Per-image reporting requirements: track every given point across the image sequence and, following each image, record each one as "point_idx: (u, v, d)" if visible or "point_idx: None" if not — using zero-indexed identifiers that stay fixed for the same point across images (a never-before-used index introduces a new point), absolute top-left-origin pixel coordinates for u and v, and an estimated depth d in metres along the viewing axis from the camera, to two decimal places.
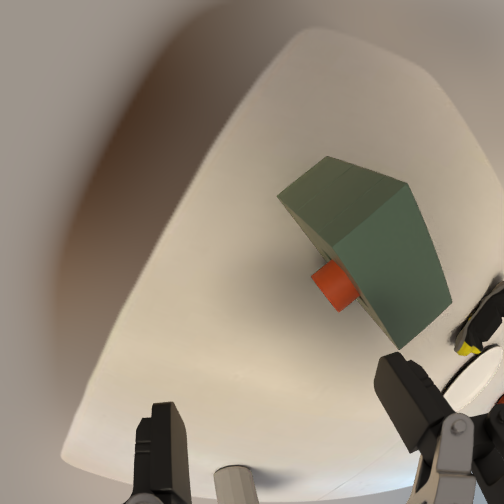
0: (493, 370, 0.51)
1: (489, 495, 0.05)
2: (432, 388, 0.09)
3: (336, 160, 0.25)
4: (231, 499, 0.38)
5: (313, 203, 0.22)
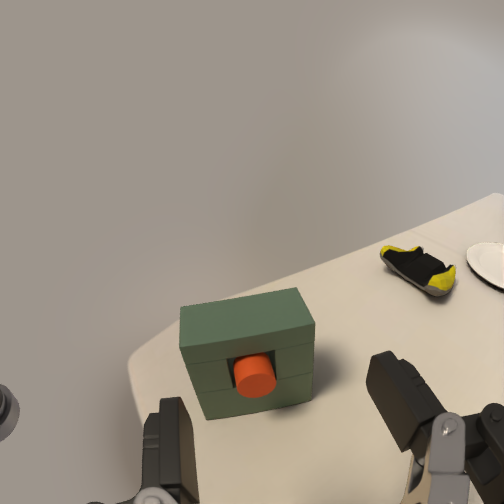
0: (497, 247, 0.53)
1: (484, 494, 0.05)
2: (424, 387, 0.09)
3: None
4: None
5: None
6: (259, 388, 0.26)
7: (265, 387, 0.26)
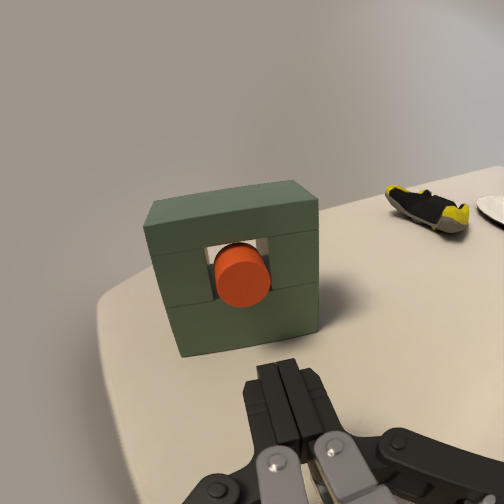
0: None
1: (427, 503, 0.06)
2: (323, 400, 0.09)
3: None
4: None
5: None
6: (247, 289, 0.21)
7: (255, 288, 0.21)
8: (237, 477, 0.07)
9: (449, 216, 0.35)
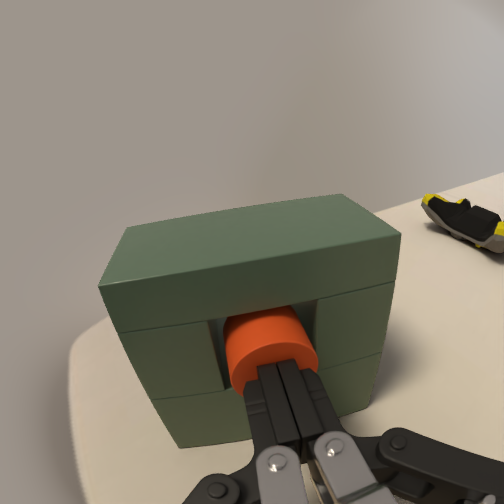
0: None
1: None
2: (323, 400, 0.09)
3: None
4: None
5: None
6: None
7: None
8: (237, 477, 0.07)
9: (502, 234, 0.26)
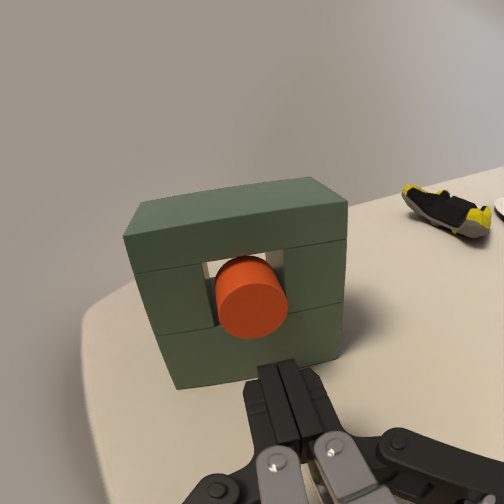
0: None
1: None
2: (323, 400, 0.09)
3: None
4: None
5: None
6: (258, 317, 0.16)
7: (269, 316, 0.16)
8: (237, 477, 0.07)
9: (474, 220, 0.30)
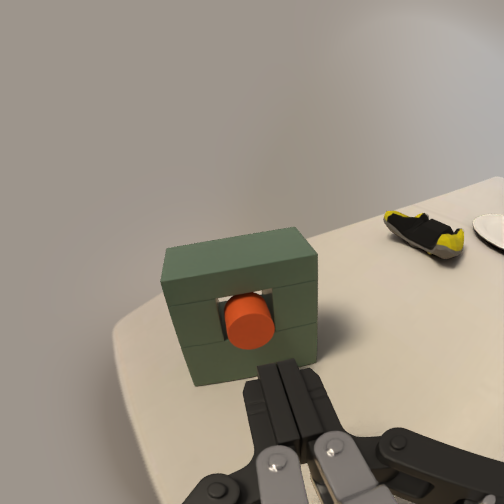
0: (503, 218, 0.50)
1: (427, 503, 0.06)
2: (323, 400, 0.09)
3: None
4: None
5: None
6: (254, 335, 0.23)
7: (261, 334, 0.23)
8: (237, 477, 0.07)
9: (443, 245, 0.38)
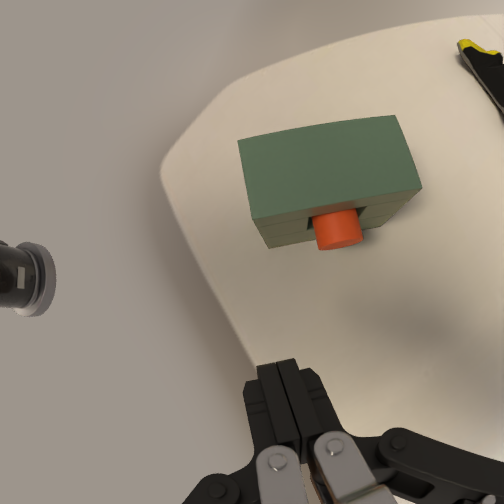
0: None
1: None
2: (323, 400, 0.09)
3: None
4: None
5: None
6: (342, 245, 0.24)
7: (349, 243, 0.24)
8: (237, 477, 0.07)
9: None
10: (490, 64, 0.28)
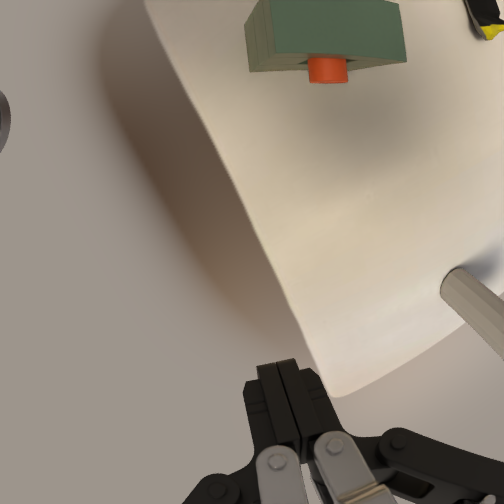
0: None
1: None
2: (323, 400, 0.09)
3: (247, 20, 0.25)
4: (465, 302, 0.42)
5: (258, 50, 0.24)
6: (329, 82, 0.25)
7: (334, 82, 0.25)
8: (237, 477, 0.07)
9: (484, 32, 0.26)
10: None
